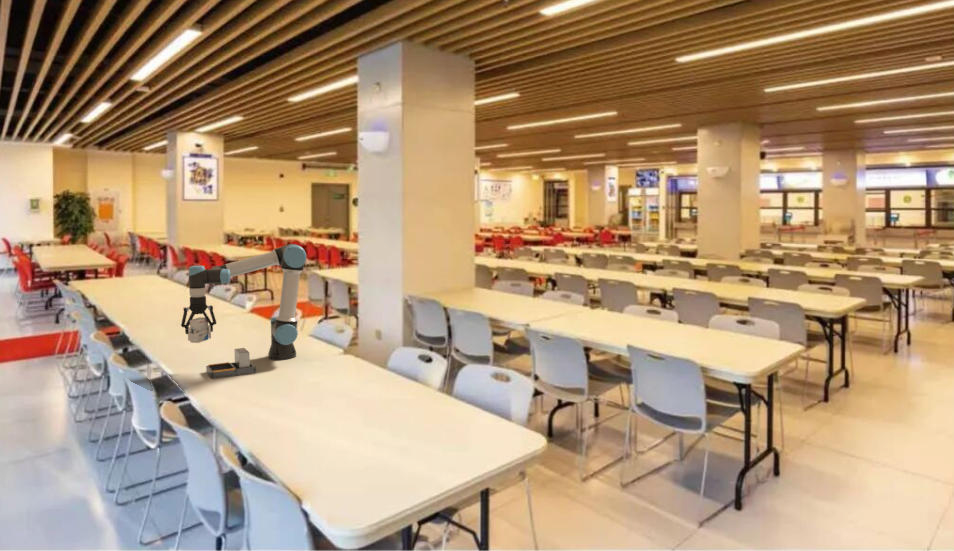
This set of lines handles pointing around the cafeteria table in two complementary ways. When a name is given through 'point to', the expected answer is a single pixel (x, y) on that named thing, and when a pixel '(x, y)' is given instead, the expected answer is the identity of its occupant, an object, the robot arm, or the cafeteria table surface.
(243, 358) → the rack
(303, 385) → the cafeteria table surface
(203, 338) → the ink box
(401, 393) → the cafeteria table surface
